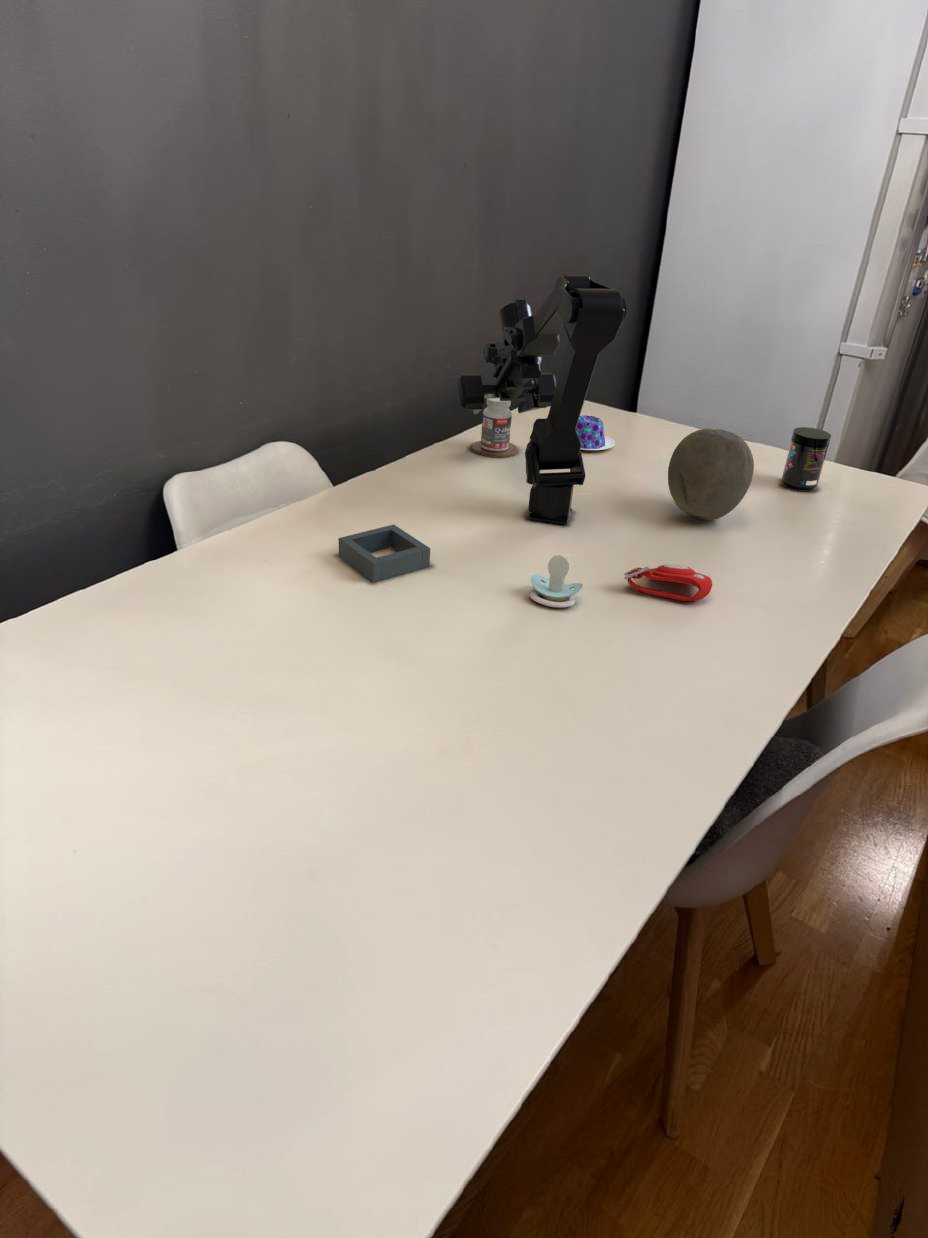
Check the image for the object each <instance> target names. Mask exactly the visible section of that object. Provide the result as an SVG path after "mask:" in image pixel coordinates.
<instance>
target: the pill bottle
mask: <svg viewBox="0 0 928 1238" xmlns="http://www.w3.org/2000/svg"><path fill="white" fill-rule="evenodd" d="M511 403H512V401H500V398H493V399H486V405H487V406H486V407H485V408H484V409H483V412H482V421H481V434H480V441H481V446H482V448H484V449H486V450H489V451H504V450H506V449H508V447H509V443H510V441H511V430H512V419H513V413H512V411H511V409H510V407H511V406H512V405H511Z"/></svg>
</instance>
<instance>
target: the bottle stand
mask: <svg viewBox="0 0 928 1238" xmlns="http://www.w3.org/2000/svg"><path fill="white" fill-rule="evenodd" d="M337 540H338V557H339V558H341V559H342V560H343V561H345V562H346V563H347V564H349V566H351V567H352V568H354V569H355V570H357V571H358V572H359V573H361V575H363V576H364V577H366V578H367V579H369V580H370V581H371V582H372V583H377V582H379V581H383V580H386V579H390V578H393V577H397V576H401V575H404V574H408V573H411V572H415V571H418V570H421V569H426V568H428V567H430V565H431V548H430V546H428V545H426V543H423V542H421V541H420V540H419V539H417V538H415V537H414V536H412V535H411V534H409V533H408V532H406V531H405V530H403V529H402V528H400V527H398V526H397V525H396V524H389V525H386V526H382V527H378V528H374V529H369V530H365V531H361V532H357V533H353V534H348V535H344V536H341V537H338V539H337ZM389 548H392V549H393V550H394V551H396V552H392V553H389V554H385V555H382V556H378V557H377V556H375V555H374V554H372V553H374V552H378V551H382V550H385V549H389Z"/></svg>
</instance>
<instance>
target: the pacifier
mask: <svg viewBox="0 0 928 1238" xmlns="http://www.w3.org/2000/svg"><path fill="white" fill-rule="evenodd" d="M547 571H548V573H549V577H546V576H543V575H541V574H537V573H535V574H532V575H531V577H530V583H531V585H532V587H533V589H534V590H532V591H530V593H529V597H530V599H531V600H532V601H534V602H536V603H537V604H540V605H543V606H546V607H551V608H570V607H572V606H574V605H575V603H576V600H575V599H574V598H573V596H574V595H576V594H578V593H579V592H580V591H582V589H583V584H582V583H580V582H574V583H573V582H572V583H565V582H566V576H567V575H568V573H569V571H570V562H569V560H568V558H567V557H566V556H565V555H562V554H557V555H553V556H552V557H551V558H550V559H549V561H548V564H547ZM540 595H542V597H543V598H542V597H540Z"/></svg>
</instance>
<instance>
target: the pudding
mask: <svg viewBox="0 0 928 1238" xmlns="http://www.w3.org/2000/svg"><path fill="white" fill-rule="evenodd" d="M576 433H577V435H578V438H579V440H580V443H581V448H580V449H581V451H582V450H583V451H603V450H608V449H611V448H613V447H614V446H615V445H616V441H615V440H614V438H612V437H610V436H608V435H606V434H605V427H604V422H603V420H602V419H601V418H599V417H597V416H594V415H587V414H586V415H580V417H579V420H578V423H577V427H576Z"/></svg>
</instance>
